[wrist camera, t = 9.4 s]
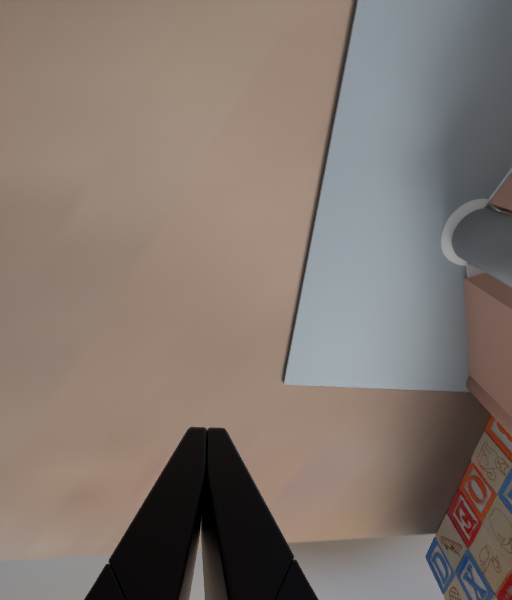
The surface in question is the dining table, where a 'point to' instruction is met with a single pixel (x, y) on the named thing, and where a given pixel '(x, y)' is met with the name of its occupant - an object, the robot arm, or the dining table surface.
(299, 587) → the robot arm
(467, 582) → the stack of blocks
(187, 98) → the dining table surface
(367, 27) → the board
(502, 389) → the fixed fence section
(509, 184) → the fence panel
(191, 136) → the dining table surface
